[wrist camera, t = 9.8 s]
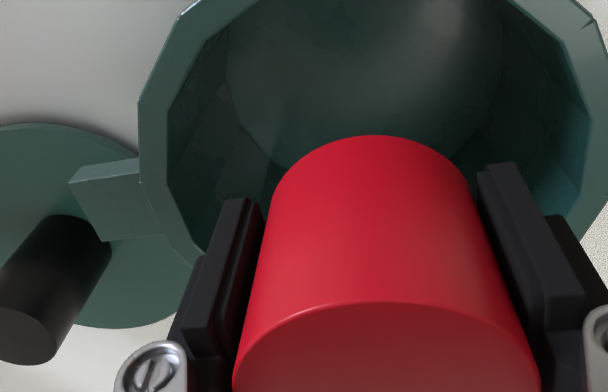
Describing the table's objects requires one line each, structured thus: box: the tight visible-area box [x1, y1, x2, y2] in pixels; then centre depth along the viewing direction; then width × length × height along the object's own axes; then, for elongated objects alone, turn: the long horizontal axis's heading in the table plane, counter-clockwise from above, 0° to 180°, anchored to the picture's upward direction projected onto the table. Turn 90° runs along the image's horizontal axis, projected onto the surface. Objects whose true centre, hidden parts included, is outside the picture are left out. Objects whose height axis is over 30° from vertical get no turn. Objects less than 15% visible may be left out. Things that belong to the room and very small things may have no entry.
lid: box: [0, 123, 193, 366], centre depth 23 cm, size 14×14×7 cm
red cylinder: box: [232, 135, 541, 392], centre depth 10 cm, size 5×5×5 cm
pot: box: [68, 0, 608, 268], centre depth 17 cm, size 13×18×8 cm
